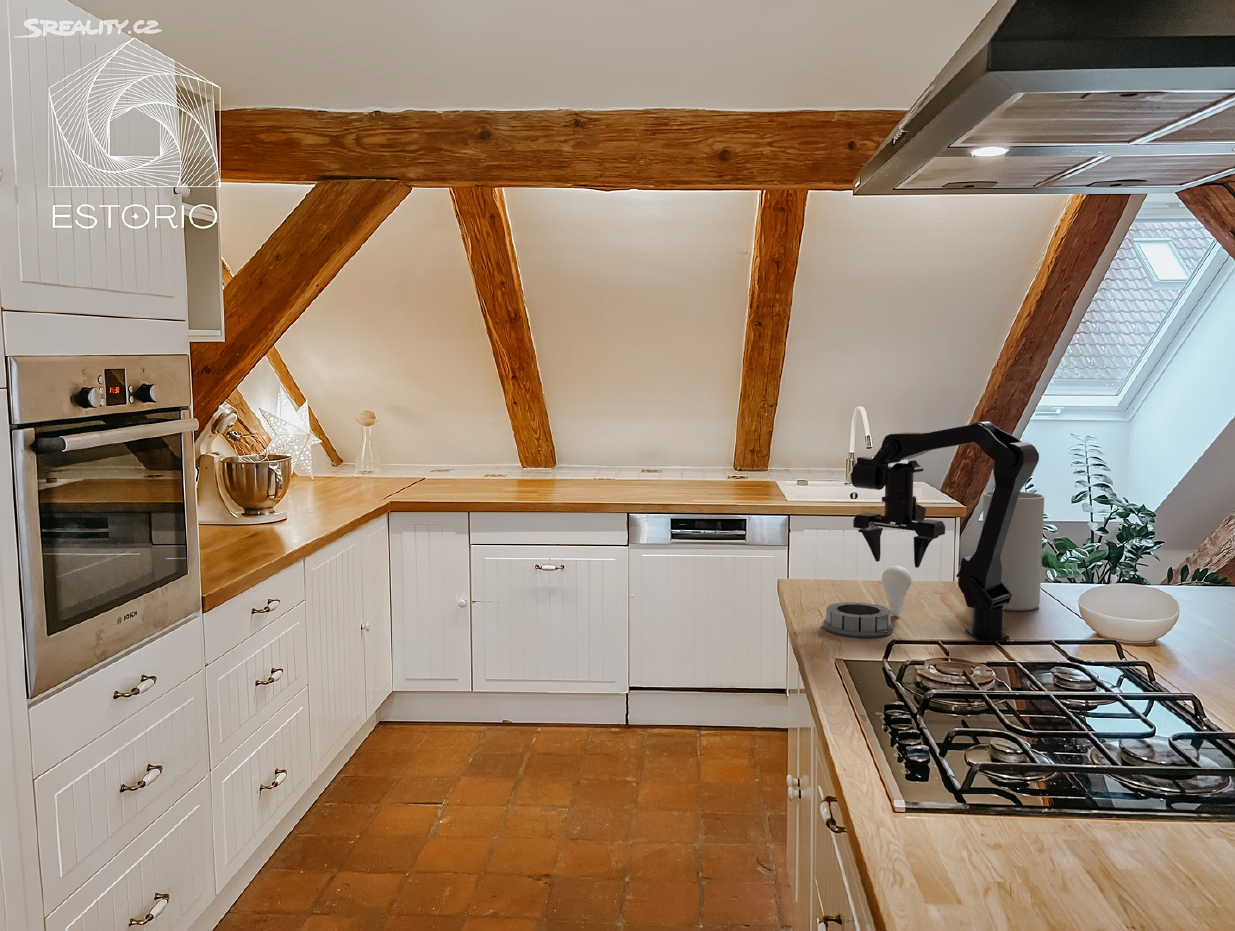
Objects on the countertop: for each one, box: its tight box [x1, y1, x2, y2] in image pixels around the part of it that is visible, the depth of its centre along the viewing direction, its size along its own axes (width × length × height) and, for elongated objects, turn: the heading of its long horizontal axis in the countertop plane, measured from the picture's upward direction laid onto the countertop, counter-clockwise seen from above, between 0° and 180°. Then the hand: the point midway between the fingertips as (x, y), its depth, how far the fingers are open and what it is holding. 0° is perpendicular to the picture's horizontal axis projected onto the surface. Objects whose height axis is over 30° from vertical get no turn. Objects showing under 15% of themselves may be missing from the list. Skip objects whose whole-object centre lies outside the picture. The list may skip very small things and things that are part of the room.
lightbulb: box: [881, 565, 912, 617], centre depth 208 cm, size 6×6×11 cm
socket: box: [822, 601, 895, 639], centre depth 199 cm, size 14×14×4 cm
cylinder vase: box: [981, 490, 1045, 612], centre depth 217 cm, size 12×12×25 cm
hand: (897, 564), depth 207 cm, fingers open, 9 cm apart
